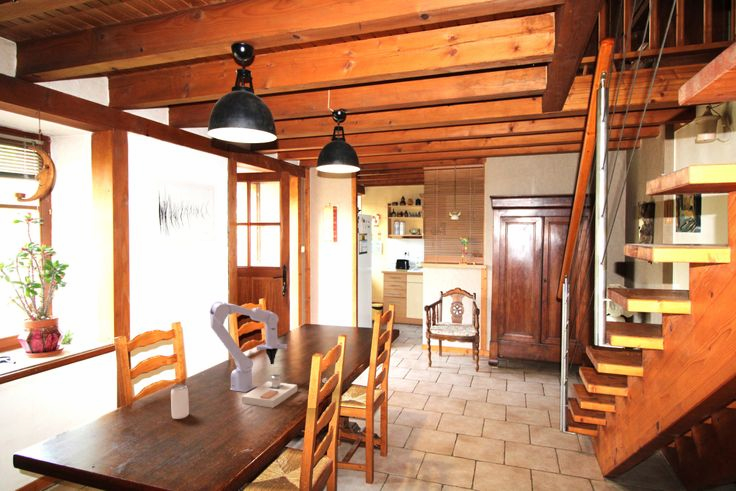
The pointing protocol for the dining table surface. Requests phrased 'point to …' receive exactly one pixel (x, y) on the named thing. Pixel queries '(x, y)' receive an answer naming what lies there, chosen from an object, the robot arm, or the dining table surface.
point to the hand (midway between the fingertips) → (272, 363)
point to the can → (179, 402)
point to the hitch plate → (282, 394)
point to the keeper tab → (269, 394)
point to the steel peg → (276, 381)
